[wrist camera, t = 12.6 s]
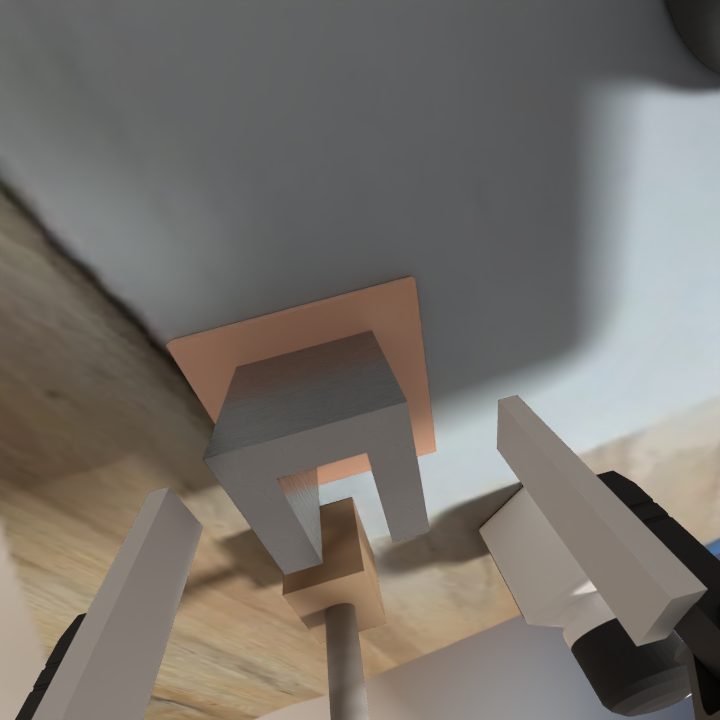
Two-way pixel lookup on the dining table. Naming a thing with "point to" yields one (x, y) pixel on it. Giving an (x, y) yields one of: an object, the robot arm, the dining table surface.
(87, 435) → the dining table surface
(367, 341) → the c link
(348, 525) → the knob on wooden block
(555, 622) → the medicine bottle
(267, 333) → the tile
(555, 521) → the robot arm
